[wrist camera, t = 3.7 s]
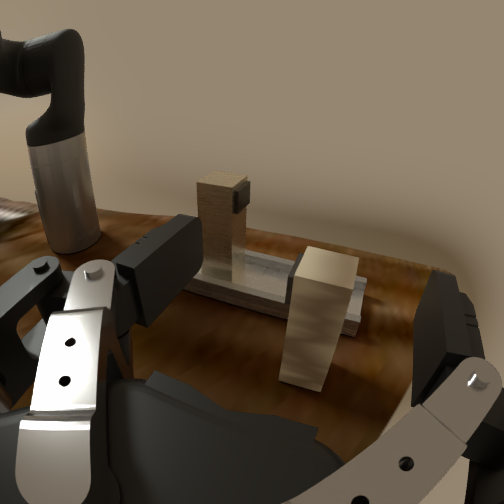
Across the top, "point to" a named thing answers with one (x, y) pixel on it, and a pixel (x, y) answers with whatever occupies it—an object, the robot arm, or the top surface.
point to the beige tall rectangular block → (315, 314)
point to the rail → (245, 255)
